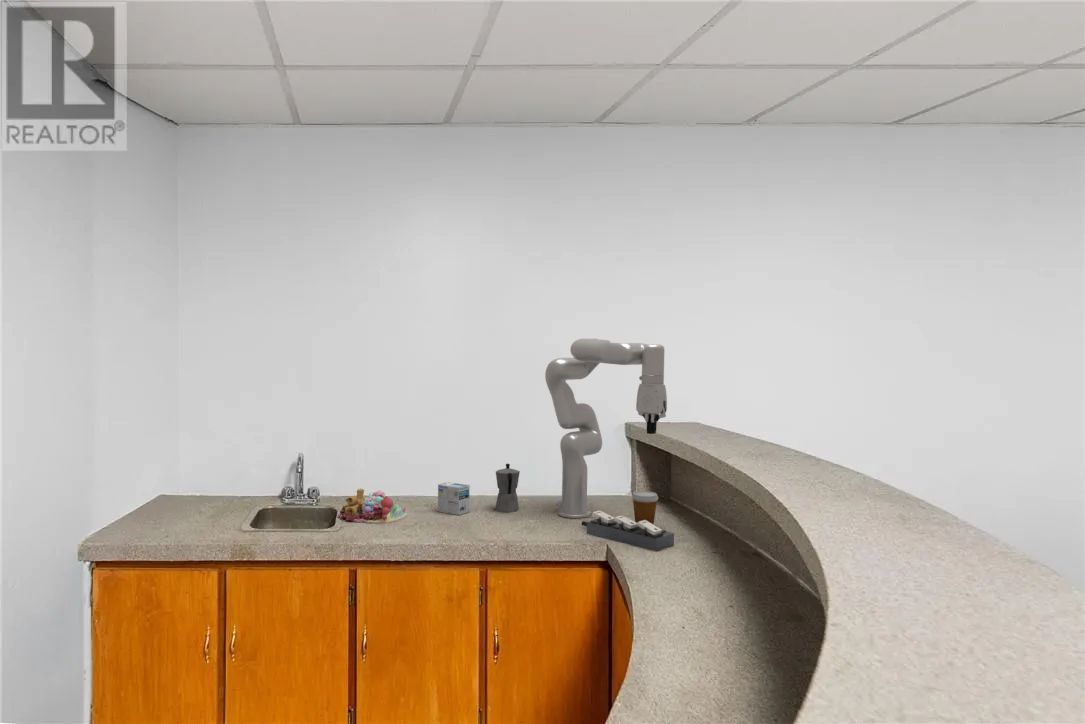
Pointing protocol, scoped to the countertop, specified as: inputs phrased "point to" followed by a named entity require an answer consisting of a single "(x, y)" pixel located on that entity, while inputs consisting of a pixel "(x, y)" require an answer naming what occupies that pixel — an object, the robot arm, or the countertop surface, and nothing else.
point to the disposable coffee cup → (644, 506)
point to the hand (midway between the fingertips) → (651, 433)
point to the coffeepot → (507, 489)
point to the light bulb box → (453, 498)
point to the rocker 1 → (603, 516)
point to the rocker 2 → (626, 522)
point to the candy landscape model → (371, 509)
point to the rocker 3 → (649, 527)
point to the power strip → (629, 535)
